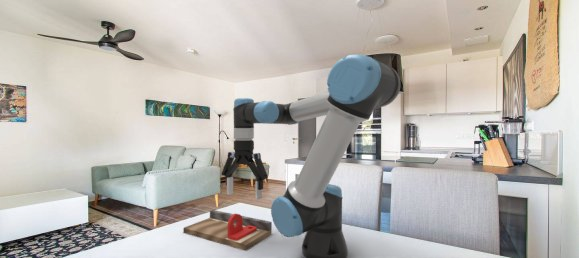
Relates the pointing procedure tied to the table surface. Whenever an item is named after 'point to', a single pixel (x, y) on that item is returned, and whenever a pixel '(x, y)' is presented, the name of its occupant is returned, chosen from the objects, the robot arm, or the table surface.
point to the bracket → (238, 228)
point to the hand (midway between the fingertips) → (243, 196)
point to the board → (218, 230)
